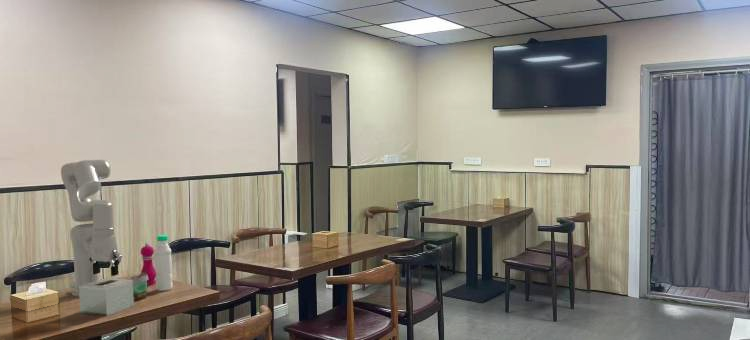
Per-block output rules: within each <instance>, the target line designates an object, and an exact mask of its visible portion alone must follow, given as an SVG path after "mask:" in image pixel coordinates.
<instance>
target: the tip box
mask: <svg viewBox="0 0 750 340" xmlns="http://www.w3.org/2000/svg"><path fill="white" fill-rule="evenodd" d="M128 279H129V278H117V277H116V278H115V277H113V278H112V277H106V278H105V277H104V278H101V279H98V280H97V281H94V282H90V283H87V284H83V285H80V286H79V295H80V297H79V311H80V313H81V314H88V315H96V316H105V317H109V316H110V315H113V314H116V313H118V312H121V311H124V310H127V309H131V308H132V307H135V305H134V302H135V301H134V298H133V280H128Z"/></svg>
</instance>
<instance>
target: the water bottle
mask: <svg viewBox="0 0 750 340" xmlns="http://www.w3.org/2000/svg"><path fill="white" fill-rule="evenodd" d="M168 236H169V235H166V234H162V235H157V237H156V241H157V246H156V248H155V250H154V254H155V256H154V257H155V259H154V263H155V271H156V277H155V280H156V283H155V285H156V290H157V291H159V292H167V291H170V290H172V289H173V287H174V285H173V272H172V270H173V266H172V265H173V264H172V263H173V261H172V249H171V248H170V247H171V246H170V245H169V244H168V240H169V237H168Z"/></svg>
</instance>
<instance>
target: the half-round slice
mask: <svg viewBox="0 0 750 340" xmlns="http://www.w3.org/2000/svg"><path fill="white" fill-rule="evenodd" d="M140 274H141V275H137V276H133V277H131V278H127V279H128V280H133V298H134V302H140V301H143V300H145V299H147V289H148V288H147V287H148V286H147V280H148V279H149V278H148V275H147V274H146V273H141V272H140Z"/></svg>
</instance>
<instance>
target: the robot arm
mask: <svg viewBox="0 0 750 340" xmlns="http://www.w3.org/2000/svg"><path fill="white" fill-rule="evenodd" d="M110 175H111V166H110V163H108V161H106V159H84V160H80V161H77V162H76V161H75V162H74V161H73V162H69V163H65V164H63V165H62V166H61V168H60V176H61V181H62V183H63V185H64V187H65V189H66V191H67V193H68V201H69V209H70V213H71V214H70V215H71V218H72V220H73V221H74V222H76V223H83V224H78V225H77V224H76V225H75V226H73V227H72V228H70V232H69V235H70V240H71V245H72V253H73V266H74V267H73V268H74V270H73V271H74V283H72V285H70V288H71V289H73V291H72V292H71V296H72V297H77V298H80V295H79V286H80V285H83V284H87V283H90V282H94V281H97V280H99V274H100V273H101V263H100V262H103V263H104V262H105V263H107V262H109V263H110V275H111V277H114V276H118V275H119V266H120V263H121V262H122V258H123V254H121V253H120V252H119V251H118V245H117V240H116V236H115V229H114V228H115V226H114V208H113V205H114V204H113V203H112V202H111V201H110V200H105V199H94V200H93V199H91V197H92V196H93V195H95V194H97V193H98V192H99V191H100V190H101V186H102V183H101V180H106V179H108V178H109V177H110ZM85 222H92V223H85Z"/></svg>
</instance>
